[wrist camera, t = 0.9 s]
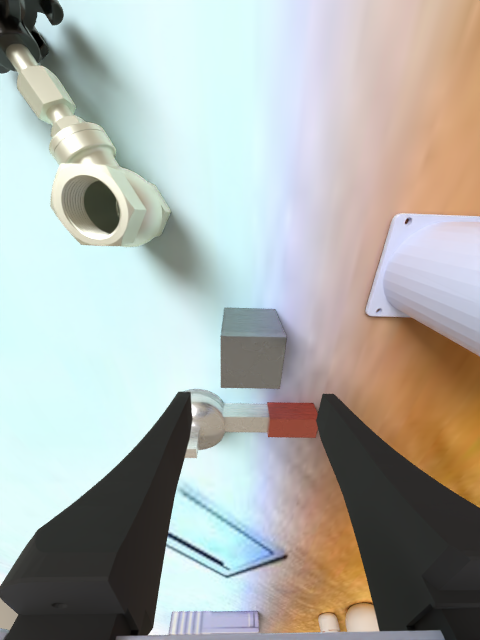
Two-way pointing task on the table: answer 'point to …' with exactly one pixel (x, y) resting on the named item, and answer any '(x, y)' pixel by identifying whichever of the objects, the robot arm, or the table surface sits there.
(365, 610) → the cosmetic set
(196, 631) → the gaming console
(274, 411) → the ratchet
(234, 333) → the brushed metal block
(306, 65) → the table surface
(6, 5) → the valve
